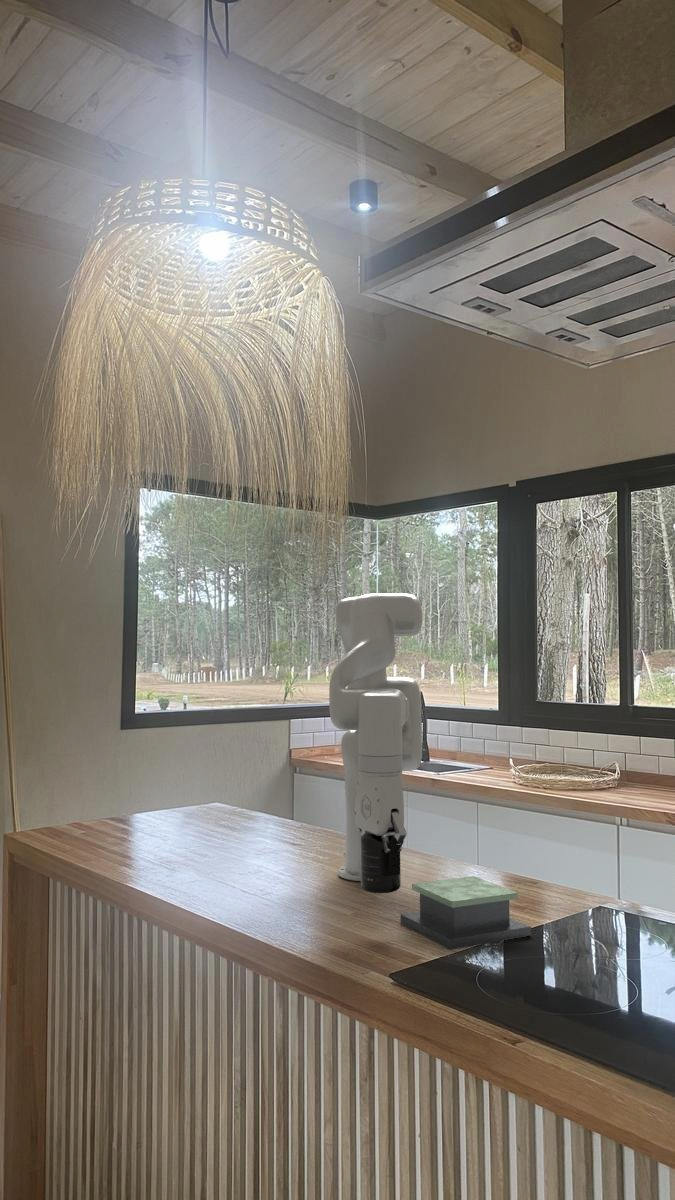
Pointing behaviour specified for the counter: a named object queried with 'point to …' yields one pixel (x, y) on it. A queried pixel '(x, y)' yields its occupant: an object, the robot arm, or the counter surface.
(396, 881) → the supplement bottle
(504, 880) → the counter surface
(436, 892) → the stand
